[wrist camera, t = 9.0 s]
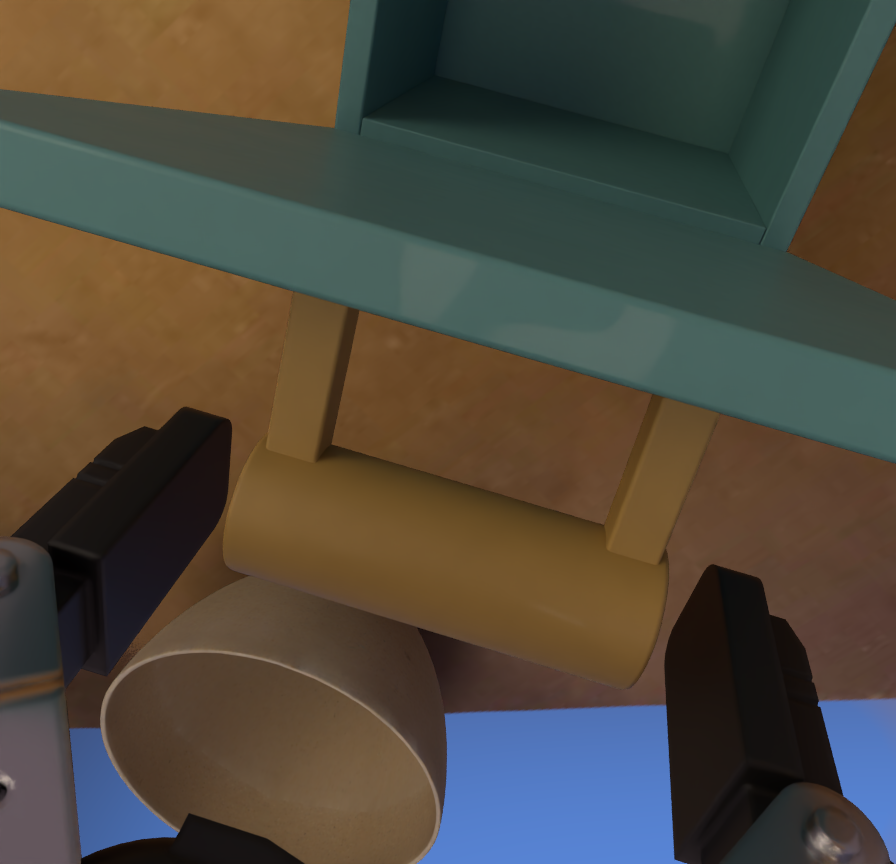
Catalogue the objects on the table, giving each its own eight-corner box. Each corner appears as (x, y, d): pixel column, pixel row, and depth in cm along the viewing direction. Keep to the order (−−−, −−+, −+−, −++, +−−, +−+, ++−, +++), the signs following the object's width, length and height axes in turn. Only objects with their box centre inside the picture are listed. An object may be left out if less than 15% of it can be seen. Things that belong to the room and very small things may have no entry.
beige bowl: (476, 507, 42) (428, 680, 32) (484, 724, 52) (449, 910, 42) (178, 483, 46) (50, 632, 36) (236, 690, 55) (147, 854, 45)
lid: (-194, 65, 7) (-168, 554, 9) (1323, 490, 6) (998, 921, 8) (330, 127, 22) (298, 302, 24) (790, 253, 22) (720, 424, 23)
